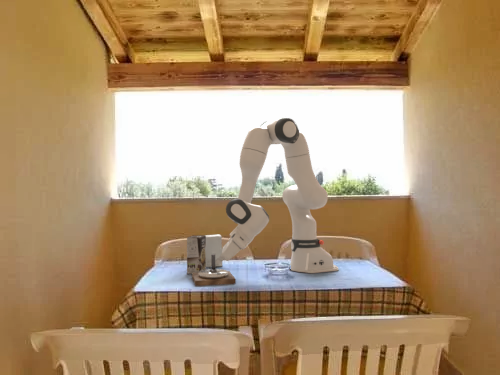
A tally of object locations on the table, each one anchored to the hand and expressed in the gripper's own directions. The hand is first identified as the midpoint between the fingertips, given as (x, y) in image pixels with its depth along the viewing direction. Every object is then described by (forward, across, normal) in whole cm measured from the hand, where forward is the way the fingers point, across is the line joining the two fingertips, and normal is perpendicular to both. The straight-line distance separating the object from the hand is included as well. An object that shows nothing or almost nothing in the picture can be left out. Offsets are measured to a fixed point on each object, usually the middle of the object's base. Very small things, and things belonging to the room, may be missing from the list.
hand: (216, 262), depth 188 cm
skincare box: (+7, -28, +3) cm, 29 cm away
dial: (+4, +4, +2) cm, 6 cm away
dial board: (+6, +3, +4) cm, 8 cm away
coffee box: (+12, -14, -2) cm, 19 cm away
